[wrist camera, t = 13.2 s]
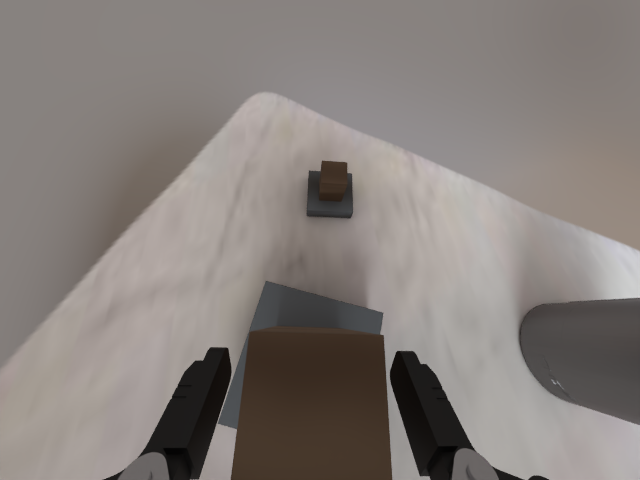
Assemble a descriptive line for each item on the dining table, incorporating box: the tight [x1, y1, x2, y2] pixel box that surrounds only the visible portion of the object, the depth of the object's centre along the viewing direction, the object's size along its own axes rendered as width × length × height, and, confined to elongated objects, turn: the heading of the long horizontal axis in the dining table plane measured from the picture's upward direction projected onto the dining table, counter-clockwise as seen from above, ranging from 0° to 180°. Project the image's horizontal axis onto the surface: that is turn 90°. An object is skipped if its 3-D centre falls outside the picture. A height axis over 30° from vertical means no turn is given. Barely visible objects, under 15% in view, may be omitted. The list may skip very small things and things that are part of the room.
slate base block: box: [218, 281, 383, 429], centre depth 19 cm, size 10×10×5 cm
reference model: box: [307, 161, 353, 218], centre depth 24 cm, size 5×5×5 cm
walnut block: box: [231, 326, 392, 480], centre depth 12 cm, size 5×5×10 cm
